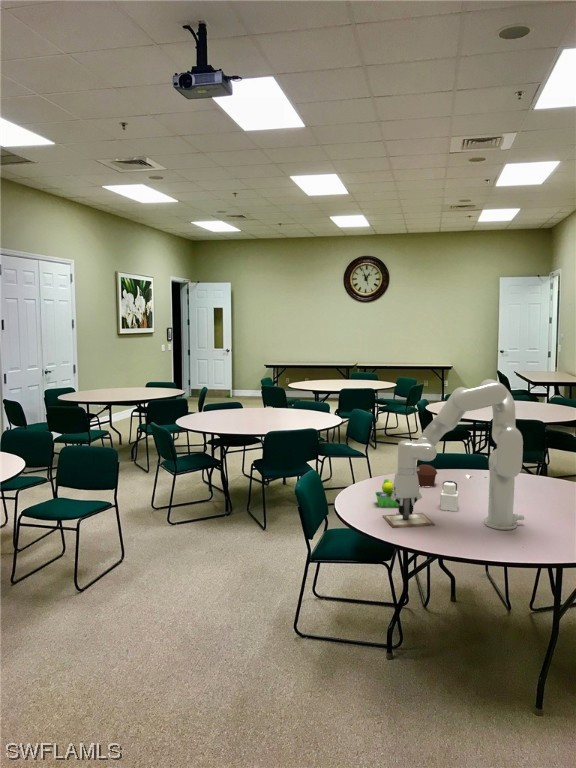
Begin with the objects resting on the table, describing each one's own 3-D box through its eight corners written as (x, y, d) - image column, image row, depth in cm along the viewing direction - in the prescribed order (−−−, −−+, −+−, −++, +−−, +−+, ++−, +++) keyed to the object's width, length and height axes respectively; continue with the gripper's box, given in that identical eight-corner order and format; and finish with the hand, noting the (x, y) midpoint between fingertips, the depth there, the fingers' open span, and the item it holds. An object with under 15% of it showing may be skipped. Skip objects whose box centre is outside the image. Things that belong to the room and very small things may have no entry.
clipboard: (422, 514, 243) (422, 510, 243) (435, 525, 230) (435, 521, 230) (382, 516, 240) (382, 513, 240) (392, 527, 228) (392, 524, 227)
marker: (408, 517, 237) (408, 489, 236) (411, 520, 234) (411, 492, 232) (400, 517, 237) (400, 490, 235) (403, 520, 233) (403, 492, 232)
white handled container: (441, 504, 255) (442, 479, 254) (458, 506, 253) (458, 480, 251) (440, 509, 248) (441, 483, 247) (457, 511, 246) (458, 485, 245)
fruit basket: (377, 508, 251) (377, 483, 250) (374, 501, 260) (374, 477, 259) (403, 508, 251) (403, 483, 250) (399, 501, 260) (399, 477, 259)
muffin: (411, 486, 283) (411, 467, 281) (415, 480, 293) (415, 461, 291) (435, 489, 278) (436, 469, 277) (438, 482, 288) (439, 463, 287)
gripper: (422, 467, 237) (421, 509, 240) (384, 469, 235) (383, 511, 237) (429, 472, 230) (428, 515, 232) (390, 474, 228) (389, 518, 230)
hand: (405, 513), depth 235 cm, fingers closed on marker, 3 cm apart
